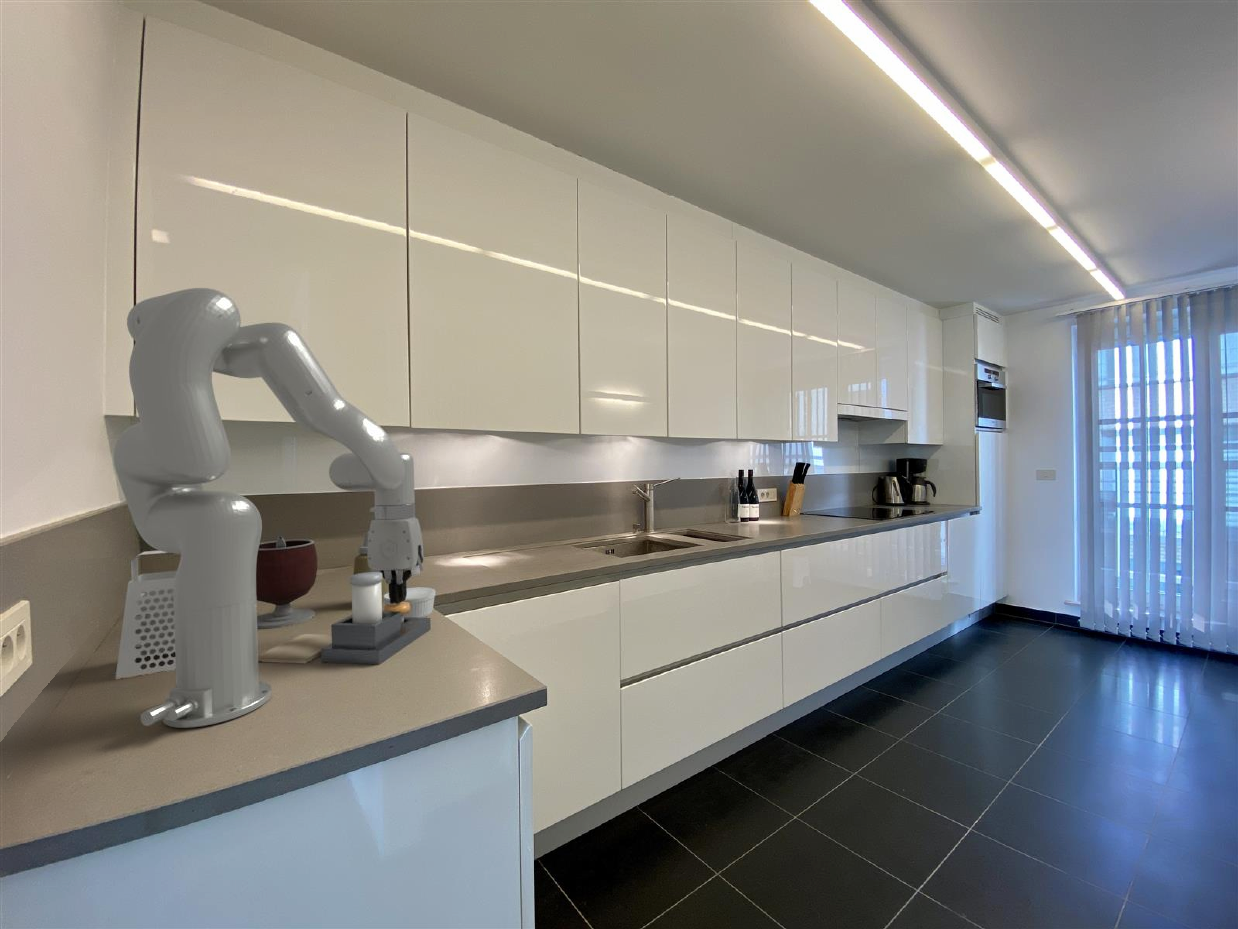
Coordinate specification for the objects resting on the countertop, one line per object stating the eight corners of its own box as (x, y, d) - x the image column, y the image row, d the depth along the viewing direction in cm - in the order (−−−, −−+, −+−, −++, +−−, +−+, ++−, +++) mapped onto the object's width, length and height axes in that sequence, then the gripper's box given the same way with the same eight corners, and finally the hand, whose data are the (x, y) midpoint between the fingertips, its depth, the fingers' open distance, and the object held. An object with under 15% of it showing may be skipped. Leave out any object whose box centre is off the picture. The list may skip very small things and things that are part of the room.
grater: (195, 666, 91) (192, 553, 91) (115, 680, 86) (111, 560, 85) (207, 647, 100) (204, 544, 100) (135, 659, 95) (131, 550, 95)
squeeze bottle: (348, 609, 124) (346, 534, 123) (356, 600, 132) (354, 530, 131) (385, 606, 126) (383, 532, 126) (390, 598, 134) (388, 528, 133)
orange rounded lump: (402, 629, 104) (401, 608, 104) (379, 629, 104) (379, 608, 104) (414, 622, 109) (414, 602, 108) (393, 621, 109) (392, 601, 109)
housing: (379, 664, 91) (378, 628, 91) (321, 662, 92) (320, 626, 92) (430, 629, 109) (429, 599, 109) (381, 627, 110) (381, 597, 110)
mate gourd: (247, 617, 119) (245, 530, 119) (317, 607, 127) (315, 525, 126) (242, 636, 106) (239, 539, 106) (320, 623, 114) (318, 533, 113)
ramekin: (386, 611, 122) (385, 589, 122) (436, 606, 126) (435, 585, 126) (381, 626, 112) (380, 601, 112) (435, 620, 115) (435, 596, 115)
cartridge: (372, 645, 93) (371, 579, 93) (345, 644, 94) (343, 578, 94) (389, 634, 99) (388, 572, 99) (363, 634, 100) (361, 571, 99)
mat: (305, 663, 92) (305, 659, 92) (254, 661, 93) (254, 656, 93) (349, 639, 104) (349, 635, 104) (303, 637, 105) (303, 633, 105)
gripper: (349, 515, 103) (352, 606, 104) (420, 515, 101) (423, 608, 102) (372, 510, 111) (375, 596, 111) (438, 510, 109) (441, 597, 109)
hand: (398, 601), depth 107 cm, fingers closed
